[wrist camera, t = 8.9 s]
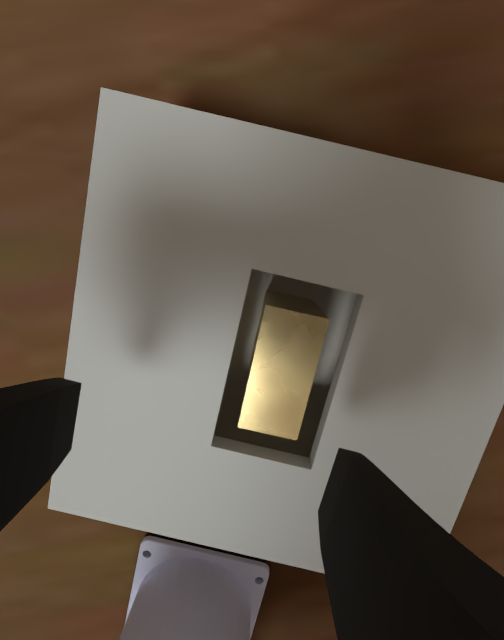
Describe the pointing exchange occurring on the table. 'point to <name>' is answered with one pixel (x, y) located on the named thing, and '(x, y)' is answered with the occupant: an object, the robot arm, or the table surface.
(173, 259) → the coin box
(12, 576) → the table surface
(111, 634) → the table surface
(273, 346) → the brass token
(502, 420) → the table surface
